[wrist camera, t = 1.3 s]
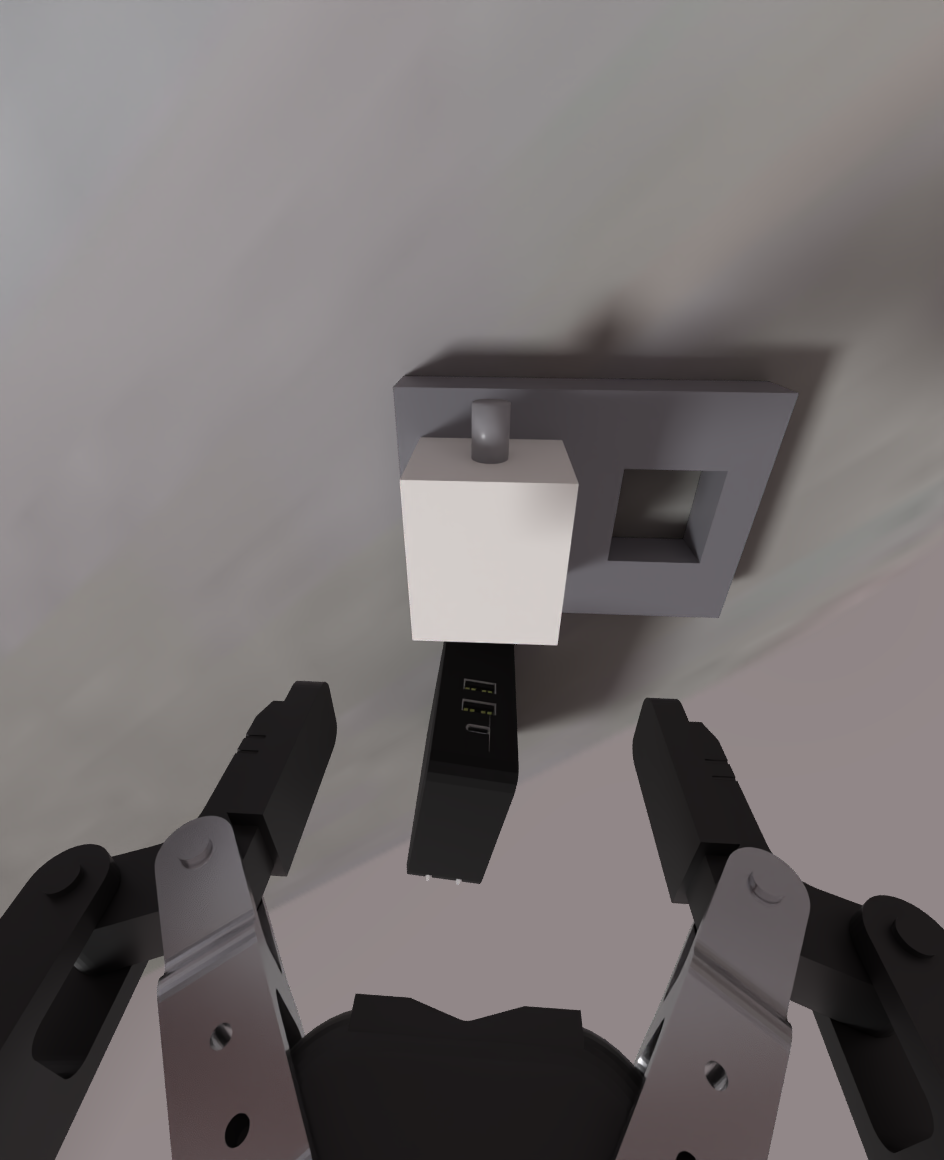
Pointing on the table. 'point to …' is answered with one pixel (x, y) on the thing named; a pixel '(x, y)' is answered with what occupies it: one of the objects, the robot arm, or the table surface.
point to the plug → (488, 533)
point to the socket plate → (630, 441)
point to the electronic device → (466, 763)
